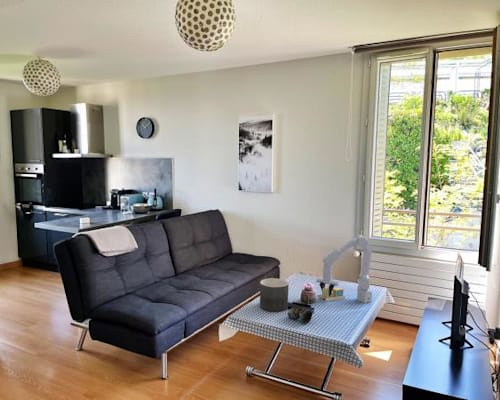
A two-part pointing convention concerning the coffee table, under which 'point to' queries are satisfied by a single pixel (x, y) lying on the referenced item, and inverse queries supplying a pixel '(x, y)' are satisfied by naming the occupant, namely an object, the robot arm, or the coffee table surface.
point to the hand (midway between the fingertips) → (326, 294)
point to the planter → (274, 294)
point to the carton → (325, 292)
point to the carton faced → (337, 292)
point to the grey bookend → (331, 298)
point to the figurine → (300, 314)
